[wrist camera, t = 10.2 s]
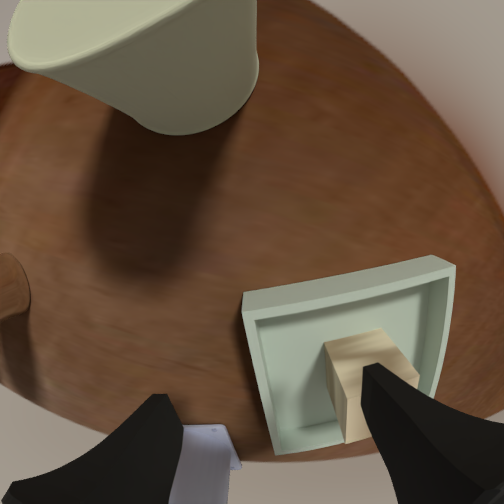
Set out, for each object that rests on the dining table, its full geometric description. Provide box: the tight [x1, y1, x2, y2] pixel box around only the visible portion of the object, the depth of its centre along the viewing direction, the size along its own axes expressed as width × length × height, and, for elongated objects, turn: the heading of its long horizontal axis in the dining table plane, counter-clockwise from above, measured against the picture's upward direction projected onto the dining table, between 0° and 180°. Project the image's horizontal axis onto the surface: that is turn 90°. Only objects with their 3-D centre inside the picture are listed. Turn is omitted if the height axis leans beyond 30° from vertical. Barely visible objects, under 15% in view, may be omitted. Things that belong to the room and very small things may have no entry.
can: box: [7, 0, 259, 135], centre depth 9 cm, size 9×9×12 cm
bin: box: [242, 255, 456, 455], centre depth 18 cm, size 14×14×3 cm
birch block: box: [324, 328, 420, 444], centre depth 15 cm, size 4×4×6 cm
